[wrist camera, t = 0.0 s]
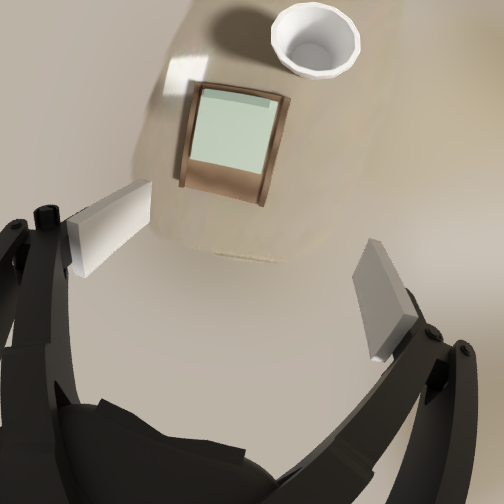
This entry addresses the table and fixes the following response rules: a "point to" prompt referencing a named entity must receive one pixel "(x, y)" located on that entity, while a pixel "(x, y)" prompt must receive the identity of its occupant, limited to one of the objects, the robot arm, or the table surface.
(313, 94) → the table surface
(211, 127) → the cover
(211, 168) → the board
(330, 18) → the foam cup
